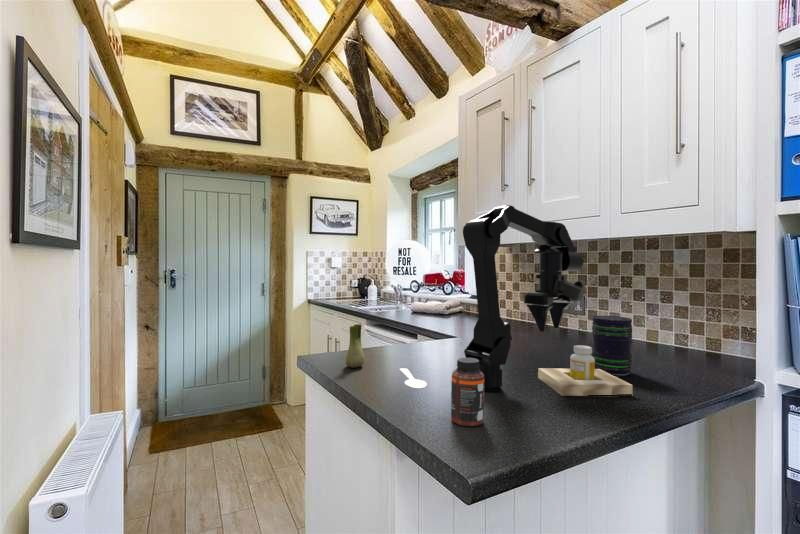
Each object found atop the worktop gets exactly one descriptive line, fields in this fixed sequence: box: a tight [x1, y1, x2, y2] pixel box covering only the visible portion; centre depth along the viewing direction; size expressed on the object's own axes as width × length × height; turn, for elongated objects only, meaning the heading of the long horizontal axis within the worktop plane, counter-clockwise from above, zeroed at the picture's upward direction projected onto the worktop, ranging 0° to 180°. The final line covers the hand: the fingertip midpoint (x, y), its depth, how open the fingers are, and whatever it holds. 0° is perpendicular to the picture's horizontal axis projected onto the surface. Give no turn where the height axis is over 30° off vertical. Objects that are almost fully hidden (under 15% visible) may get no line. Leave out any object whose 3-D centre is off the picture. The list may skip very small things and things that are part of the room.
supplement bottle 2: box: [569, 344, 595, 380], centre depth 95 cm, size 5×5×10 cm
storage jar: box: [591, 315, 633, 374], centre depth 109 cm, size 10×10×15 cm
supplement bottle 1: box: [450, 357, 485, 427], centre depth 72 cm, size 6×6×11 cm
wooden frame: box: [537, 367, 634, 397], centre depth 95 cm, size 16×14×3 cm
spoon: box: [399, 367, 428, 389], centre depth 100 cm, size 5×18×1 cm, turn 12°
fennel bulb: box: [345, 323, 365, 369], centre depth 109 cm, size 6×5×12 cm
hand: (549, 329), depth 105 cm, fingers open, 9 cm apart
